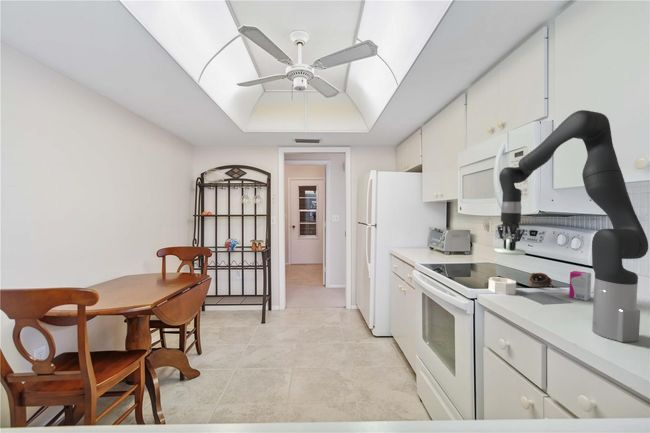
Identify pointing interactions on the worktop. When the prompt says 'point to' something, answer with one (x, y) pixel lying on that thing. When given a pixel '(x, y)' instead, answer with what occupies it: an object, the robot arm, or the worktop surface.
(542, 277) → the pottery mug
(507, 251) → the lid
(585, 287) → the supplement box
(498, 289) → the bowl
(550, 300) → the mat
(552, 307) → the worktop surface
